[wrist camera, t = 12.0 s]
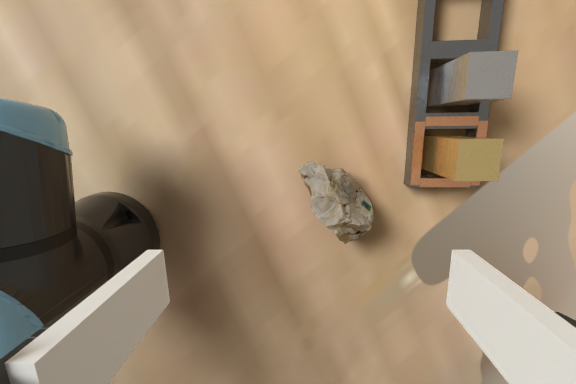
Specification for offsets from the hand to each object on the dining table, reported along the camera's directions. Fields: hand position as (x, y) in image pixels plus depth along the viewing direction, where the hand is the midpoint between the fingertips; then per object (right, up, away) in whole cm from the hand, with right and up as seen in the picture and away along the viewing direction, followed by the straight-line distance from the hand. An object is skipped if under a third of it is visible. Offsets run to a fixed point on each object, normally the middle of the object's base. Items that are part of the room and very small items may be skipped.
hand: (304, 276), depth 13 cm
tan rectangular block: (+21, +9, +27) cm, 35 cm away
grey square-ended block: (+20, +18, +25) cm, 37 cm away
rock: (+6, +4, +30) cm, 31 cm away
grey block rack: (+20, +18, +25) cm, 37 cm away
